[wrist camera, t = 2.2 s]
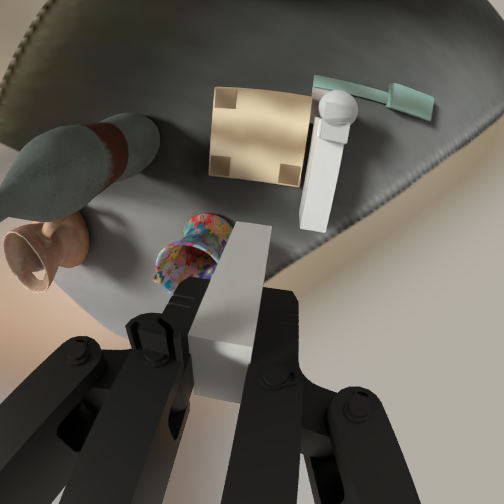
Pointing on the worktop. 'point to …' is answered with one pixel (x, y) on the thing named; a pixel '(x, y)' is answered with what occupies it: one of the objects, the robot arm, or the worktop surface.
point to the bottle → (76, 166)
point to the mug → (193, 251)
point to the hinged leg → (325, 158)
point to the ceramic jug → (46, 249)
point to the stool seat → (284, 127)
